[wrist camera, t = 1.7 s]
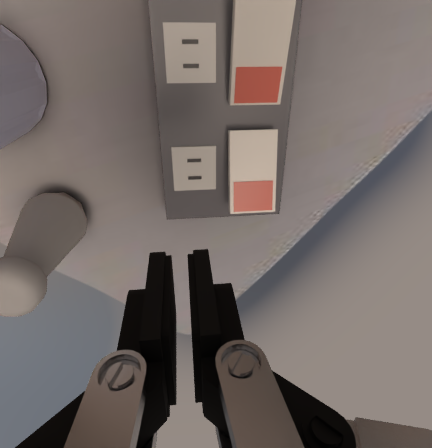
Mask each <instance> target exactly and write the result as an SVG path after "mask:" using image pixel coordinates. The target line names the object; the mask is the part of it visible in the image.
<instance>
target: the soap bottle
mask: <svg viewBox="0 0 432 448" xmlns="http://www.w3.org/2000/svg"><path fill="white" fill-rule="evenodd" d="M46 104H47V88H46V81H45V78H44V75H43V73H42V70H41V68H40V65H39V62H38V60H37V59H36V58H35V56H34V55H33V54H32V52H31V51H30V50H29V49H28V47H27V46H26V45H25V43H24V42H23V41H22V40H21V39H20V38H18V37H17V36H16V35H14V34H13V33H12V32H10V31H9V30H8V29H7V28H5V27H4V26H3V25H1V24H0V149H2V148H3V147H5V146H6V145H8V144H10V143H11V142H13V141H15V140H16V139H18V138H20V137H21V136H23V135H24V134H26V133H28V132H29V131H30V130H31V129H32V128H33V127H34V126H35V125H36V124H37V123H38V122H39V121H40V120H41V119H42V116H43V113H44V110H45V107H46Z"/></svg>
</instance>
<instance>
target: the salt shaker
mask: <svg viewBox="0 0 432 448" xmlns="http://www.w3.org/2000/svg"><path fill="white" fill-rule="evenodd" d="M86 226H87V218H86V215H85V213H84V211H83V208H82V205H81V203H80V202H79V201H77V200H76V199H74V198H73V197H71V196H69V195H68V194H66V193H65V192H62V193H42V194H40V195H37V196H35V197H33V198H31V199H29V200H28V201H27V202H26V204H25V205H24V207H23V208H22V210H21V212H20V215H19V218H18V220H17V223H16V225H15V228H14V231H13V233H12V236H11V238H10V241H9V243H8V246H7V249H6V251H5V254H4V256H3V257H1V258H0V316H4V317H13V316H22V315H25V314H27V313H30V312H32V311H33V310H34V309H35V308H36V306H37V305H38V304H39V303H40V302H41V301H42V299H43V298H44V296H45V294H46V291H47V276H48V275H49V274H50V273H51V272H52V271H53V270H54V269H55V267H56V266H57V265H58V264H59V263H60V262H61V261H62V260H63V259H64V257H65V256H66V255H67V254H68V253H69V252H70V251H71V250H72V249H73V248H74V247H75V245H76V244H77V243H78V242H79V241H80V240H81V239H82V237H83V236H84V235H85V233H86Z"/></svg>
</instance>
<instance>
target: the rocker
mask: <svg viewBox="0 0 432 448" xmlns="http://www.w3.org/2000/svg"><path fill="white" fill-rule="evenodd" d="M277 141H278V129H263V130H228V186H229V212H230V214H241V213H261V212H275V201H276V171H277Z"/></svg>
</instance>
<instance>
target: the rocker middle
mask: <svg viewBox="0 0 432 448" xmlns="http://www.w3.org/2000/svg"><path fill="white" fill-rule="evenodd" d="M295 5H296V0H233V14H232V35H231V56H230V78H229V99H228V101H229V104H230V105H279V104H280V103H281V96H282V89H283V83H284V76H285V70H286V63H287V57H288V50H289V44H290V37H291V31H292V24H293V18H294V11H295Z"/></svg>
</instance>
